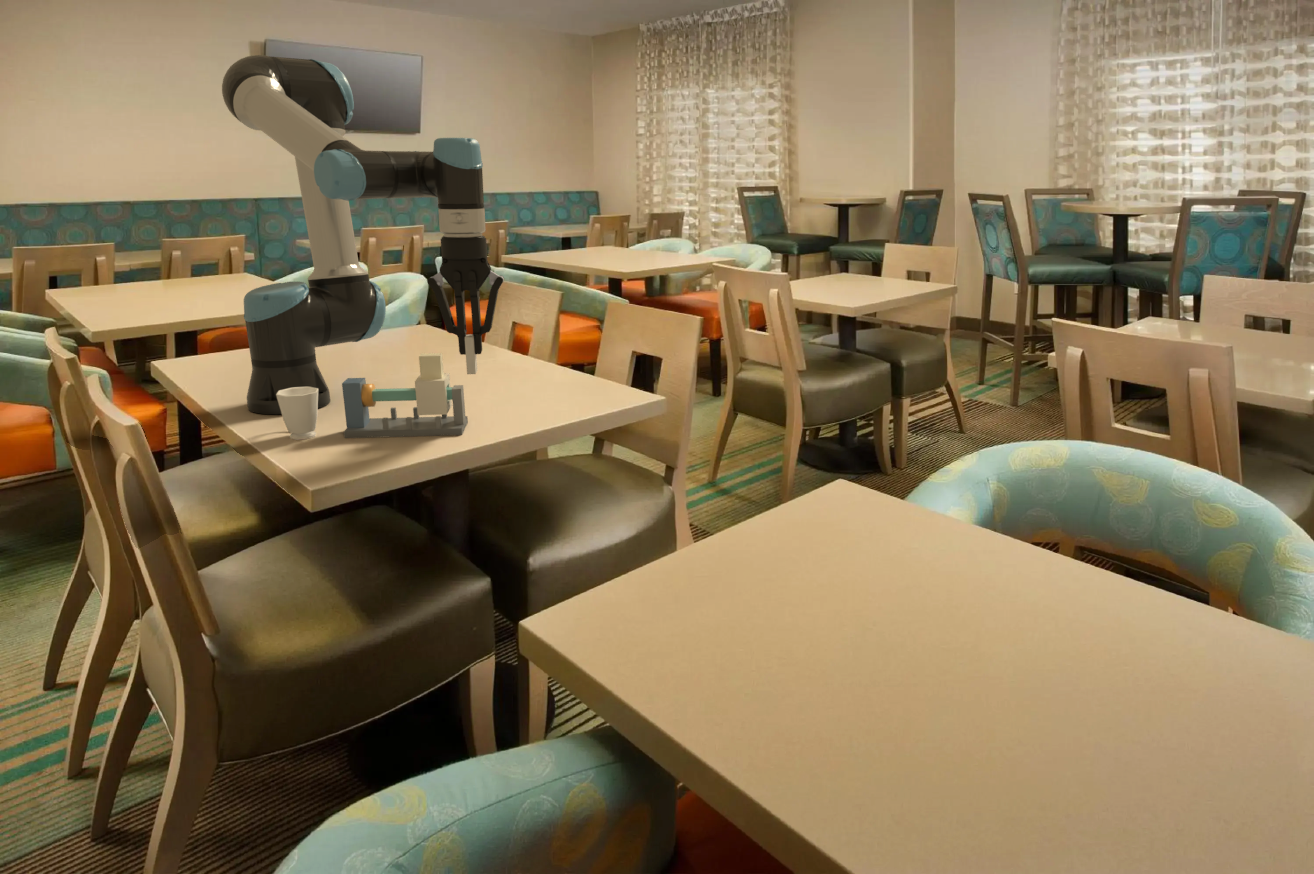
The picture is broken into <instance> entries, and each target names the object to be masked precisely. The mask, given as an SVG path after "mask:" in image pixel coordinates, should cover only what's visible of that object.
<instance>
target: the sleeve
mask: <svg viewBox="0 0 1314 874" xmlns="http://www.w3.org/2000/svg"><path fill="white" fill-rule="evenodd" d="M443 360H444V359H443V353H442V352H437V353H436V352H434V353H433V352H432V353H431V352H429V353H425V352H424V353H423V352H422V353H420V354H419V356H418V363H419V376H418V377H417V378H416V379H415V380H414V386H415V387H414V388H415V390H416V400H415V401H416V407H417V413H418V415H419V416H432V415H434V416H435V415H436V416H442V415H443V414H447V415H448V413H449V411H450V410H451V408H452V407H453V400H447V390H446V387H451V378H450V377H451V375H450V373H449V372H446V373H445V372H444V361H443Z"/></svg>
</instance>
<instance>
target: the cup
mask: <svg viewBox="0 0 1314 874" xmlns="http://www.w3.org/2000/svg"><path fill="white" fill-rule="evenodd" d="M276 396H277V400H278V403H279V406H280V410H281V413H282V414H281V416H282V420H283V422H284V424H285V427H286V429H287V432H288V433H290V435H289V439H291V440H296V441H297V440H298V441H299V440H308V439H311V438H315V437H316V436H317V431H315V430H316V428H317V422H318V421H317V420H318V413H319V411H318V409H319V408H318V388H313V387H292V388H288V389H283V390H279V391H278V392H277V394H276Z"/></svg>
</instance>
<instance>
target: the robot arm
mask: <svg viewBox="0 0 1314 874" xmlns="http://www.w3.org/2000/svg"><path fill="white" fill-rule="evenodd" d="M222 78H223V79H222V83H221V94H222V99H223V101H224V105H225V106H226V107H227V110H229V112H230V113H231V115H232V116H233V117H235V119H236V120H237V121H238V122H240V123H242V124H243V125H244V126H245V127H247V128H248V129H252V130H256V131H262V133H264V134H265V135H266V136H268V137H269V138H270V139H272V140H273V141H275V143H276V144H278V145H279V146H281V147H282V148H283V149H285V150H286V151H287V152H288V153H290V154H291V155H293V156H294V159H295V165H296V171H297V178H298V183H299V189H300V194H301V200H302V201H301V202H302V206H303V212H304V217H305V223H306V224H305V225H306V230H307V235H308V236H307V237H308V241H309V247H310V252H311V253H310V254H311V258H312V265H313V271H312V272H311V274H310V275H309V276H308V278H307V281H308V285H307V283H306V282H304V281H285V282H277V283H272V284H266V285H261V286H260V287H256V288H253V289H252V290H250V291H248V292H246V294H245V295H244V298H243V313H244V314H243V319H244V321H245V322H244V323H245V329H246V334H247V340H248V341H247V342H248V346H249V347H248V348H249V353H250V360H251V368H252V369H251V374H250V380H249V383H248V389H247V395H246V404H247V410H248V411H250V412H253V413H256V414H261V415H263V414H264V415H282V413H281V410H280V406H279V403H278V400H277V396H276V394H277V392H278V391H279V390H283V389H288V388H292V387H313V388H318V409H319V408H323V407H325V406H327V405H328V404H330V402H331V394H330V389H329V387H328V385H327V383H326V381H325V379H324V376H323V375H322V372H321V371H320V368H319V366H318V364H317V363H318V362H317V357H316V356H317V354H316V348H321V347H327V346H333V345H338V344H339V345H340V344H347V343H357V342H360V341H363V340H367V339H371V338H373V337H376V335H377V334H378V333H380V332H381V331H380V330H381V329H382V328H383V326H384V323H385V319H386V315H387V313H386V312H387V309H386V308H387V305H386V298H385V296H384V295H385V294H384V293H383V292H382V291H381V287H380V286H379V285H378V284H377V283H376V282H374V281H372V280H370V277H369V272H368V271H367V270H365V269H364V268H363V267H361V265H360V262H359V257H358V250H357V245H356V238H355V232H354V226H353V219H352V213H351V208H350V207H351V206H350V201H354V200H370V199H371V200H372V199H373V200H374V199H376V200H377V199H410V198H411V199H413V198H415V199H416V198H418V199H421V198H437V208H438V222H439V224H438V225H439V232H440V233H441V234H442V235H443V236H441V238H440V248H441V249H440V251H441V265H440V267H439V272H438V273H436V274H434V275H433V276H430V277H429V278H427V280H426V281H427V285H429V287H430V288H431V289H432V291H433V292H434V294H435V295H434V296H435V299H436V302H437V304H438V308H439V311H440V314H441V316H442V317H441V318H442V320H443V323H444V327H445V330H446V332H447V333H449V334H453V335H456V336H457V339H458V352H459V354H460V355H465V363H466V364H465V365H466V374H467V375H476V374H477V373H478V358H477V355H482V352H483V339H482V336H483V335H484V334H487V333H490V331H491V330H492V327H493V322H494V317H495V312H496V305H497V300H498V295H499V290H500V288H501V286H502V284H503V283H504V281H505V277H504V276H503V275H501V274H500V275H499V274H497V273H496V272H494V271H492V267H491V265H490V264H489V261H488V247H487V246H488V245H487V238H486V236H485V235H483V233H485V232H486V230H487V229H486V215H485V212H486V211H485V210H486V209H485V198H484V182H483V181H484V176H483V167H484V165H483V161H482V153H481V145H480V142H479V141H478V140H477V139H476V138H472V137H438V138H435V140H434V141H433V150H432V151H420V150H418V151H417V150H415V151H414V150H413V151H410V150H409V151H408V150H407V151H406V150H403V151H396V150H395V151H394V150H393V151H392V150H364V149H361V148H359V147H358V146H357V145H355V144H354V143H352V142H351V141H349V140H348V139H347V138H345V137H344V135H346V131H347V130H346V127H345V126H346V125H347V124H349V123H350V122H351V120H352V119H353V116H354V113H353V111H354V109H355V103H354V95H353V91H352V88H351V85H350V82H349V81H348V78H347V76H346V75H345V74H344V72H342V71H341V70H340V69H339V67H338V66H336V65H334V64H333V63H330V62H326V61H319V60H316V59H312V58H308V59H306V58H293V57H282V56H281V57H280V56H269V55H264V54H263V55H262V54H261V55H260V54H256V55H249V56H245V57H243V58H240V59H238V60H237V61H235V62H234V63H233V64H232V65H230V66H229V68H228V69H227V71H226V73H225V74H224V76H223V77H222ZM488 278H489V281H488V282H489V283H488V284H489V285H490V286H491V287H490V291H489V295H488V301H487V306H486V312H485V318H484V322H483V325H482V320H481V305H480V302H481V300H480V288H482V286H483V285H484V284H485V282H486V280H487V279H488ZM443 279H444V280H445V281H446V282H447V284H448V285H449V286H450V288H451V289H452V290H453V291H454V300H455V301H454V302H455V315H456V324H455V320H454V317H453V314H452V311H451V308H450V305H449V302H448V299H447V296H446V292H445V289H444V287H443V285H444V284H445V283H444V280H443ZM465 291H468V292H469V296H470V298H469V299H470V306H471V307H470V308H471V310H470V311H471V325H472V334H471V333H470V334H467V332H468V329H467V321H466V320H467V319H466V318H467V317H466V306H465V305H466V303H465Z"/></svg>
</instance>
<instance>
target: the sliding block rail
mask: <svg viewBox="0 0 1314 874" xmlns="http://www.w3.org/2000/svg"><path fill="white" fill-rule="evenodd" d="M366 381H367V380H366V377H348V378H346V379H345V380H344V381H343V382H341V386H342V397H343V398H342V399H343V405H344V415H345V423H346V429H344V431H343V437H344V439H354V438H355V439H356V438H357V439H358V438H359V439H361V438H392V437H393V438H395V437H396V438H397V437H400V438H401V437H402V438H403V437H428V436H429V437H430V436H431V437H432V436H433V437H434V436H462V435H463V434H464V432H465V431H466V427H467V425H468V422H469V419H468V416H467V415H466V406H465V392H464V391H465V390H464V389H465V388H464V385H463V384H455V385H453V386H452V387H451V386H450V387H446V390H447V400H451V401H452V410H453V412H452V413H453V415H452V416H450V415H449V416H448V413H447V414H443V415H436V416H420V415H418V413H417V406H414V407H412V412H413V417H412V416H406V417H398V415H397V407H396V406H395V407H394V406H393V407H390V417H380V418H379V417H377V418H375V417H374V418H373V417H372V418H370V411H369V410H370V409H369V407H371V408H372V407H374V408H375V406H376V404H377V402H406V401H408V402H409V401H416V390H415V387H409V388H408V387H405V388H402V387H401V388H397V387H396V388H376V385H375V384H374V383H367V382H366Z"/></svg>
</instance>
